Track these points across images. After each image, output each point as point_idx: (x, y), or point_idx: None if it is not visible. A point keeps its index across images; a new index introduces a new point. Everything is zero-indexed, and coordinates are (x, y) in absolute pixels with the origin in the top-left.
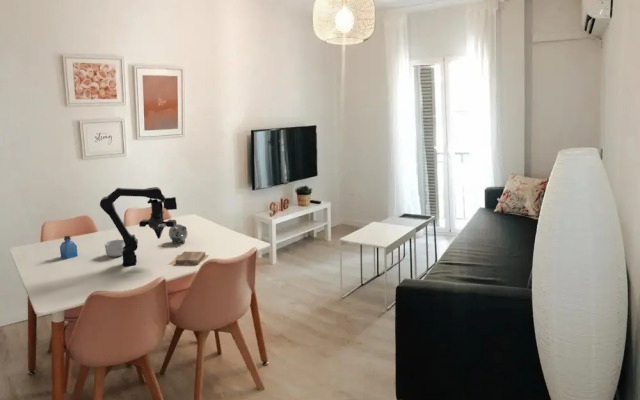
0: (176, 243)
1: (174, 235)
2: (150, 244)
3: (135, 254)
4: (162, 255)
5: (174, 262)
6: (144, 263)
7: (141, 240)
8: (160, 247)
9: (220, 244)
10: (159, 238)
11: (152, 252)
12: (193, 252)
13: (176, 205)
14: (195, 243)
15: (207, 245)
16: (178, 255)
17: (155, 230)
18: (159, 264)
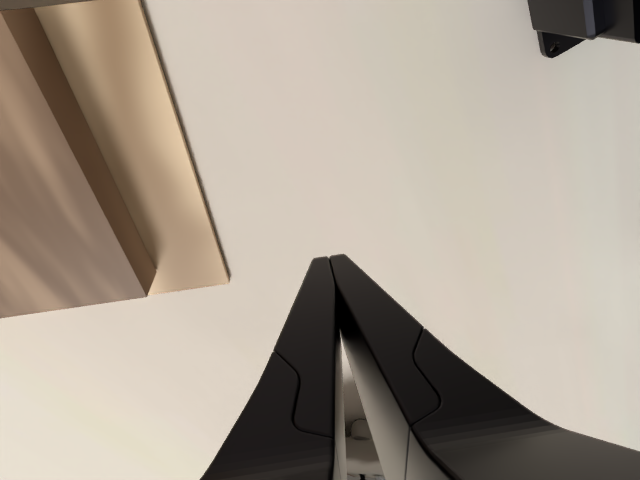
0: (353, 425)
1: (365, 475)
2: None
3: (597, 23)
4: (351, 255)
5: (108, 78)
6: (434, 13)
7: (558, 420)
8: None
9: (99, 465)
10: (313, 261)
11: (449, 293)
12: (39, 293)
13: None
14: None
15: (162, 442)
16: (211, 268)
17: (452, 406)
18: (252, 3)
